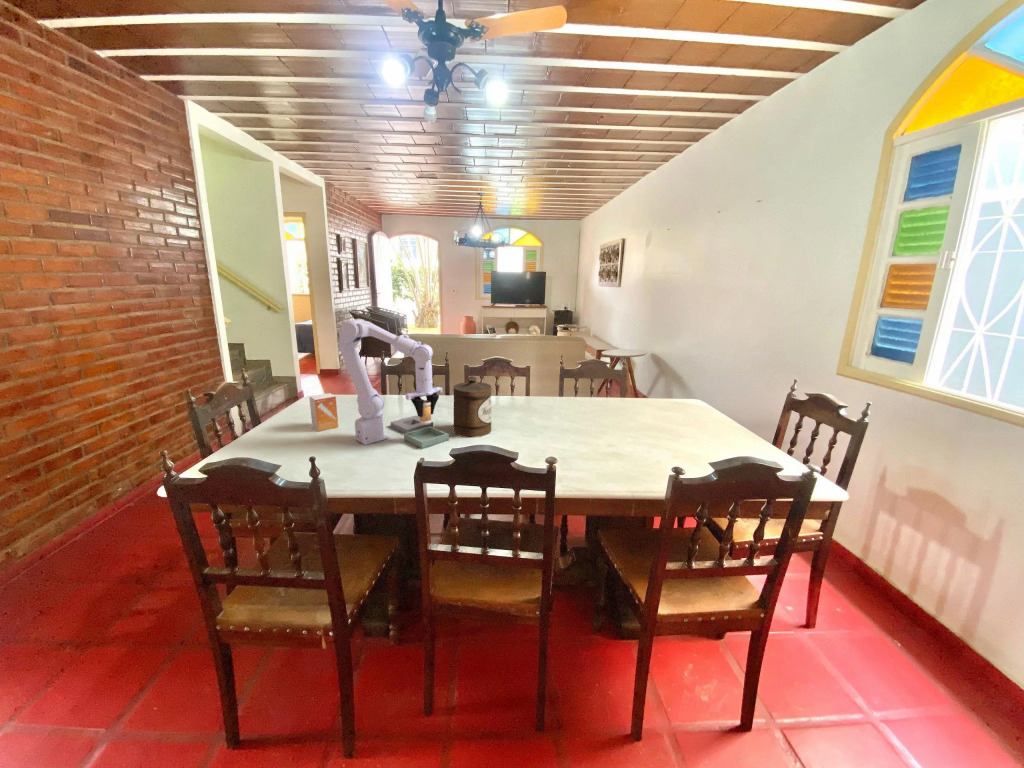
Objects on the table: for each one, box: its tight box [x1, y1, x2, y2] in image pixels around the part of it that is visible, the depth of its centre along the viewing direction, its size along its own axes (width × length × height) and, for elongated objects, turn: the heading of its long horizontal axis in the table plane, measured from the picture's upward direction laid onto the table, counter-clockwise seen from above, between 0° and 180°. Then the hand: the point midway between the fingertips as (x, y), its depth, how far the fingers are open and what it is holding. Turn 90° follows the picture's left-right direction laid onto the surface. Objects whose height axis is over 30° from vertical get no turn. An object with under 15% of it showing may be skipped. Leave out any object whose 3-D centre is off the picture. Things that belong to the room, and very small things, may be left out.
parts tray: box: [403, 426, 450, 450], centre depth 152 cm, size 12×12×2 cm
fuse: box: [420, 399, 432, 425], centre depth 150 cm, size 4×4×8 cm
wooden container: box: [453, 375, 492, 438], centre depth 160 cm, size 15×15×22 cm
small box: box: [308, 392, 339, 433], centre depth 162 cm, size 8×6×13 cm
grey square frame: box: [390, 415, 434, 434], centre depth 166 cm, size 12×12×2 cm
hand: (425, 415), depth 150 cm, fingers closed on fuse, 4 cm apart
